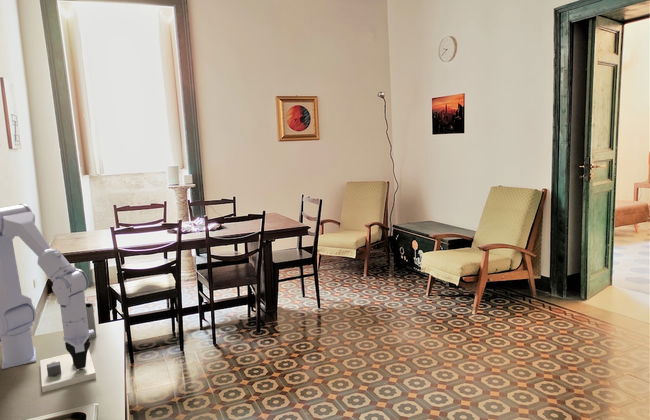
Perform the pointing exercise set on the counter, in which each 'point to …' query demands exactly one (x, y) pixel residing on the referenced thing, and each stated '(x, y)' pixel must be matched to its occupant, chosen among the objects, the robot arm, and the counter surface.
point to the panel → (66, 372)
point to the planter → (91, 319)
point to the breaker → (53, 369)
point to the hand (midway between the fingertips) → (80, 367)
